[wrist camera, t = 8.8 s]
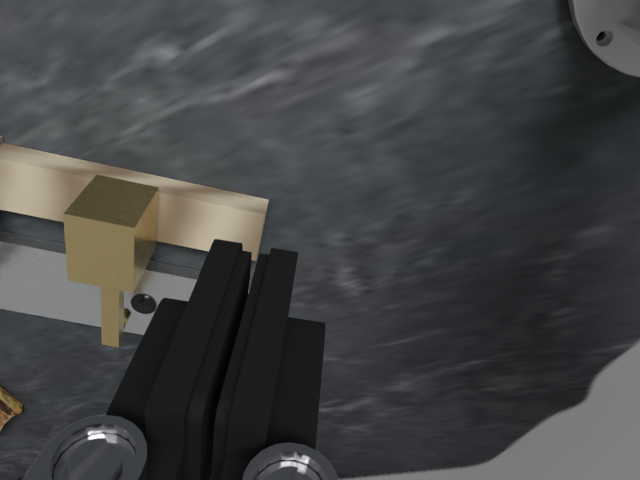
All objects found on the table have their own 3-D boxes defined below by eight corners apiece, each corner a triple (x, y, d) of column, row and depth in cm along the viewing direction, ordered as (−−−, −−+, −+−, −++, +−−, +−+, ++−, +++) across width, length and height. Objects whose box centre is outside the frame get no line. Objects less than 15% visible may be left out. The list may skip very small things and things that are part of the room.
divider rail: (270, 193, 36) (258, 242, 31) (245, 317, 43) (233, 373, 38) (-92, 115, 34) (-167, 156, 29) (-58, 259, 41) (-113, 311, 36)
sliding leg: (159, 187, 34) (134, 228, 30) (152, 319, 41) (131, 366, 37) (96, 174, 33) (63, 213, 29) (99, 309, 40) (73, 356, 36)
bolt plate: (253, 280, 41) (250, 291, 40) (241, 342, 45) (238, 353, 44) (-68, 216, 39) (-80, 226, 37) (-51, 287, 42) (-61, 298, 41)
